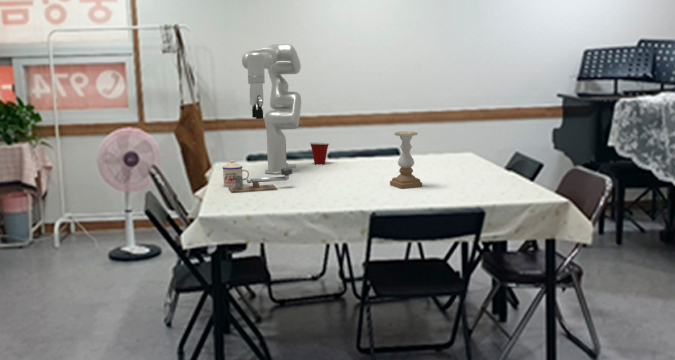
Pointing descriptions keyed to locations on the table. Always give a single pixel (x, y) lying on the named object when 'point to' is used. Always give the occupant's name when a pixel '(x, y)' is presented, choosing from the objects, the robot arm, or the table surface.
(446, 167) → the table surface
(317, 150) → the plastic cup
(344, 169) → the table surface
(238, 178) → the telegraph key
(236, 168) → the teacup with lid
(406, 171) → the candle holder
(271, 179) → the hook rod
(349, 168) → the table surface
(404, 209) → the table surface
